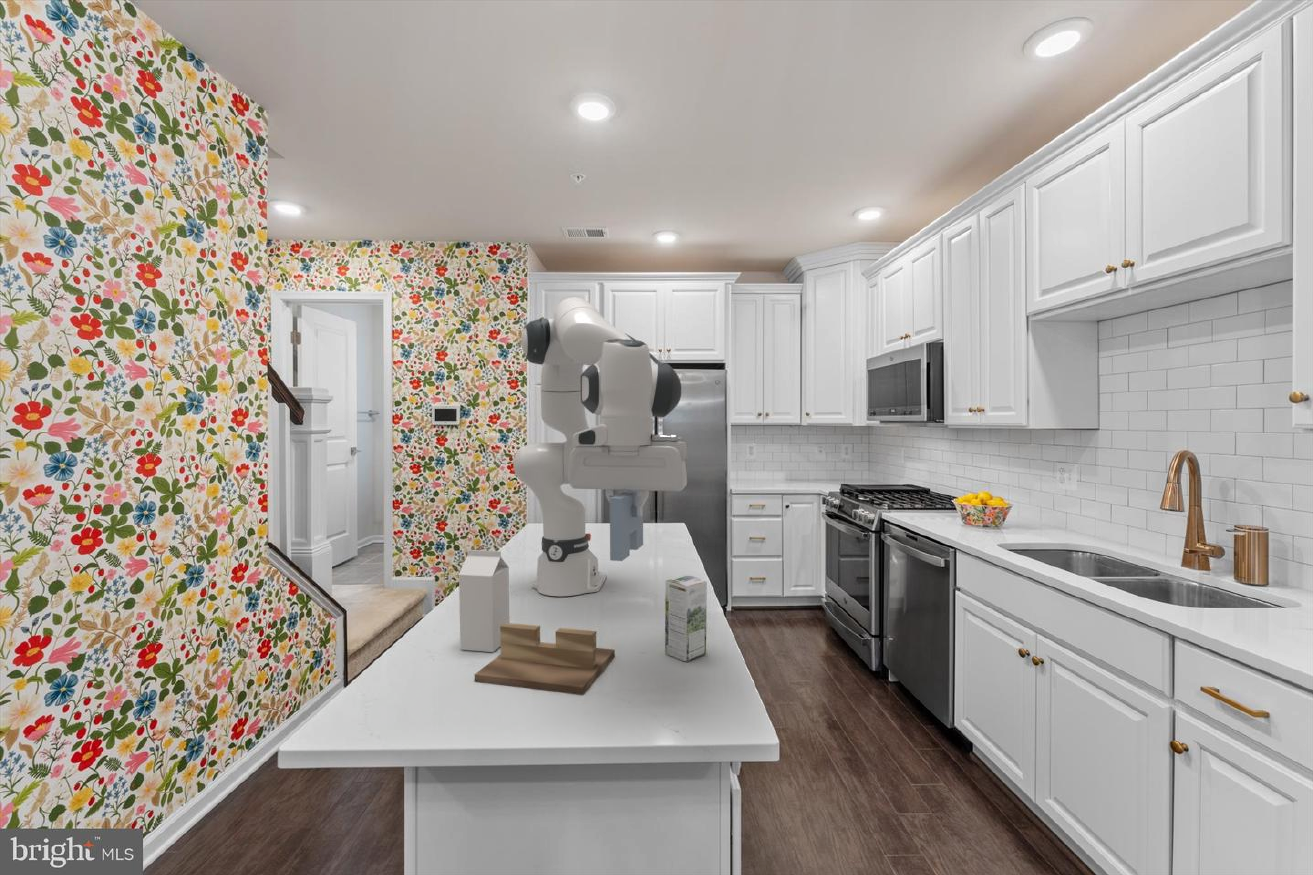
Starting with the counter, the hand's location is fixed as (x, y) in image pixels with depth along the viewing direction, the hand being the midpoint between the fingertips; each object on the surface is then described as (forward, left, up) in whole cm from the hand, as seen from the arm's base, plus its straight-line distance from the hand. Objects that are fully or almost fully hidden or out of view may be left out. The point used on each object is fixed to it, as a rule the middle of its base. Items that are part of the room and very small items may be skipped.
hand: (627, 516), depth 98 cm
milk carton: (-9, -33, -29) cm, 45 cm away
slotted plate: (0, 0, -6) cm, 6 cm away
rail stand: (-2, -16, -29) cm, 33 cm away
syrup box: (-14, +7, -29) cm, 33 cm away
